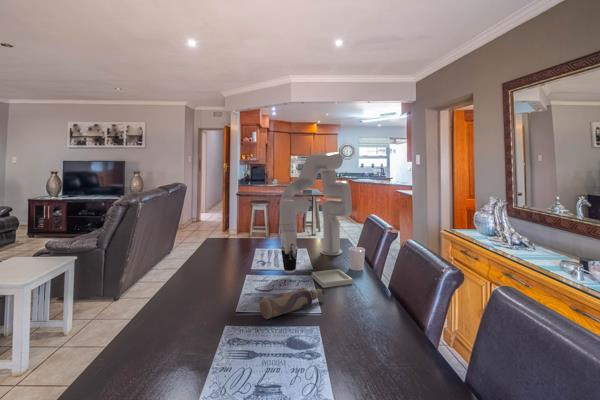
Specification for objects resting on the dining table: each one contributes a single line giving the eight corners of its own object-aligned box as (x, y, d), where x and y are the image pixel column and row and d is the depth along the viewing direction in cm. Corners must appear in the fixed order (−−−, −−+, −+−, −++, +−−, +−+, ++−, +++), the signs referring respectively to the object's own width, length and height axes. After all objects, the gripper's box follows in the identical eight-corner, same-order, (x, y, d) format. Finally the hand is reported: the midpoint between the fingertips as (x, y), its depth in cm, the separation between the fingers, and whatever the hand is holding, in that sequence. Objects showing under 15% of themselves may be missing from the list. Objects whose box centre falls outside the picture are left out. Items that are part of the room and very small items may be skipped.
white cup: (363, 266, 148) (364, 246, 147) (365, 271, 141) (365, 251, 140) (347, 265, 149) (348, 246, 148) (349, 271, 141) (349, 250, 140)
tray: (311, 276, 134) (311, 272, 134) (338, 273, 138) (338, 269, 138) (323, 287, 121) (323, 282, 121) (352, 283, 126) (352, 278, 125)
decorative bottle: (269, 324, 93) (268, 303, 92) (258, 314, 99) (258, 295, 99) (331, 303, 107) (331, 285, 107) (319, 296, 114) (319, 279, 113)
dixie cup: (284, 275, 129) (283, 251, 127) (278, 269, 136) (278, 246, 134) (301, 272, 132) (300, 248, 130) (294, 266, 139) (294, 244, 138)
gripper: (275, 223, 138) (277, 259, 140) (285, 231, 122) (286, 272, 124) (291, 222, 141) (292, 257, 143) (302, 230, 124) (303, 270, 126)
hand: (289, 264), depth 133 cm, fingers closed on dixie cup, 8 cm apart
